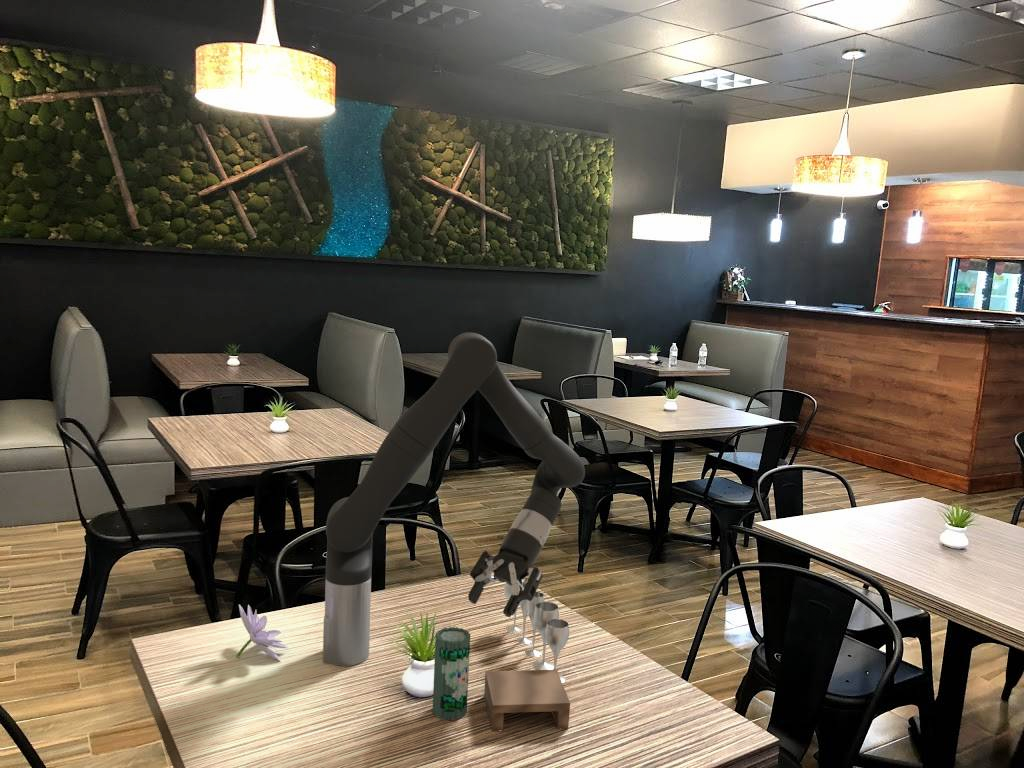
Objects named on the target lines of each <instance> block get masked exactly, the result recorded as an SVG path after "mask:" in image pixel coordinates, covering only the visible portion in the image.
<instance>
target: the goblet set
mask: <svg viewBox="0 0 1024 768" xmlns="http://www.w3.org/2000/svg"><path fill="white" fill-rule="evenodd" d="M527 581H528V579H527V577H525V578H523V579H522V582H523V588H525V586H526V583H527ZM503 595H504V597H505V598H506V599H507V601H508V600H509V599H510V597H511V595H514V593H513V586H512V585H509V584H507V583H506V582H504V586H503ZM519 606H520V610H521V612H522V619H523V622H522V623H523V624H522V626H521V627H523V630H522V628H521V627H519V626H520V625H518V626H515V625H516V621H517V620H516V617H517V611H518V609H517V610H516V612H515V613H514V614H513V624H509V625H510V626H508V625H506V626H507V627H506V626H505V627H506V630H507V632H508V633H507V632H506V633H507V634H510V633H511V632H512V633H518V632H520V631H523V633H522V636H518V637H519V638H517V637H516V638H517V641H516V642H519V643H521V644H526V645H527V644H528V645H531V644H532V647H531V648H527V649H525V650H524V651H525V653H526V655H525V656H527V657H530V658H537V657H541V656H542V659H538V660H537V659H536V660H534V661H533V662H532V663H531V665H532V667H533V669H534V670H557V664H558V657H559V655H560V653H561V651H563V649H564V648H565V647H566V645H567V643H568V641H569V637H570V625H569V622H568V621H566V620H564V619H561V618H560V609H559V605H558V604H556V603H554V602H551V601H546V600H545V595H544V593H543V592H542V591H541V592H540V591H536V593H535V595H534V597H533V599H532V600H531V601H528V600H522V601H521V602H520V604H519ZM527 616H528V617H529V620H530V622H531V626H532V638H530V637H528V638H527V636H525V633H526V622H527V621H526V620H527ZM536 632H538V633H539V635H540V637H541V639H542V646H543V647H542V650H543V651H542V650H540V649H538V648H536V647H535V640H536ZM516 642H515V643H516ZM530 643H531V644H530ZM521 644H520V645H521ZM526 645H525V646H526ZM547 645H548V647H549V648H550V650H551V653H552V654H553V662H552V661H550V660H547V659H546V647H547ZM540 655H541V656H540ZM558 674H559V676H560V679H561V681H562V684H564V683H565V681H566V677H565V676H564V675H562V674H560V673H558Z"/></svg>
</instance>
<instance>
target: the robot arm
mask: <svg viewBox="0 0 1024 768" xmlns="http://www.w3.org/2000/svg"><path fill="white" fill-rule="evenodd" d="M447 357H448V361H447V363H446V364H445V366H444V368H443V370H442V371H441V372H440V374H439V376H438V377H437V378H436V380H435V381H434V383H433V385H432V386H431V387H430V388H429V389H428V390H427V391H426V392H425V393H424V394H423V395H422V396H421V397H419V399H418V400H416V401H415V402H414V403H413V404H412V405H411V406H410V407H409V408H408V409H407V410H406V411H405V412H404V413H403V414H402V415H401V416H400V417H399V419H398V420H397V421H396V422H395V424H394V425H393V426H392V428H391V429H390V431H389V432H388V434H387V435H386V436H385V438H384V439H383V441H382V442H381V444H380V446H379V448H378V449H377V451H376V453H375V455H374V456H373V458H372V461H371V463H370V465H369V467H368V469H367V470H366V473H365V474H364V477H363V478H362V480H361V482H360V483H359V484H358V485H357V487H356V488H355V489H354V491H353V492H352V493H351V494H350V496H347V497H343V498H340V499H339V500H337V501H336V502H335V503H333V505H332V506H331V508H330V509H329V512H328V513H327V519H326V523H325V535H326V538H327V539H326V540H327V541H326V543H327V545H326V560H325V585H324V586H325V589H324V590H325V591H324V597H325V598H324V616H323V630H322V631H323V637H322V640H323V641H322V643H323V644H322V663H328V664H332V665H335V666H342V667H346V666H355V665H359V664H361V663H363V662H365V661H366V660H367V659H368V658H369V656H370V634H371V633H370V632H371V631H370V630H371V628H370V627H371V597H372V596H371V595H372V593H371V592H372V568H373V567H372V566H373V537H374V536H373V535H374V531H375V529H376V528H377V527H378V524H379V522H380V521H381V519H383V516H384V515H385V513H386V512H387V509H388V508H389V507H390V505H391V504H392V502H393V501H394V499H395V498H396V497H397V496H398V495H399V494H400V492H401V491H402V490H403V489H404V488H405V487H406V485H407V484H408V483H409V482H410V481H411V479H412V478H413V477H414V475H416V473H417V472H418V471H419V469H420V468H421V466H423V464H425V462H426V460H427V459H428V458H429V456H431V453H433V451H434V449H435V448H436V447H437V446H438V444H439V442H440V440H441V439H442V438H443V436H444V435H445V433H446V432H447V430H448V429H449V427H450V426H451V424H452V423H453V422H454V420H455V418H456V417H457V414H458V413H459V412H460V410H461V409H463V407H464V406H465V404H466V403H467V402H468V400H469V399H470V398H471V397H472V396H473V395H474V394H475V393H476V391H479V393H480V394H481V395H482V396H483V397H484V398H485V400H486V401H487V402H488V404H489V405H490V406H491V408H492V409H493V410H494V412H495V413H496V415H497V416H498V417H499V419H500V421H501V422H502V423H503V425H504V427H505V428H506V429H507V431H508V432H509V433H510V435H511V436H512V438H513V439H514V440H515V442H517V444H518V445H519V446H520V447H521V448H522V450H523V451H524V452H525V454H527V456H528V457H530V458H532V459H537V460H540V461H541V463H540V464H539V465H538V467H537V469H536V472H535V474H534V478H533V482H532V485H531V490H530V494H529V496H528V498H527V500H526V501H525V503H524V505H523V506H522V508H521V510H520V512H519V513H518V515H517V516H516V517H515V519H514V521H513V522H512V524H511V526H510V528H509V530H508V532H507V534H506V535H505V537H504V539H503V541H502V542H501V544H500V547H499V551H498V552H497V554H496V555H495V556H494V555H493V554H490V553H489V552H488V551H487V550H484V551H483V552H482V553H481V555H480V557H479V558H478V559H477V561H476V563H475V564H474V566H473V568H472V569H471V571H470V573H469V576H470V577H471V579H472V580H473V581H474V583H473V585H472V587H471V589H470V590H469V592H468V594H467V595H468V601H469V602H470V603H471V604H473V605H476V604H477V602H478V601H479V599H480V597H481V595H482V594H483V592H484V589H485V587H486V586H488V585H489V584H493V583H496V582H497V581H499V582H501V583H507V584H509V585H512V586H513V593H514V595H511V597H510V599H509V600H508V599H507V603H506V605H505V607H504V609H503V611H502V613H503V615H504V616H505V617H507V618H510V617H512V616H514V613H515V612H516V610H517V611H518V608H519V606H520V605H519V604H520V602H521V601H522V600H528V601H531V600H532V599H533V597H534V595H535V593H536V592H537V590H538V588H539V586H540V583H541V582H542V579H543V573H542V571H541V570H540V568H538V567H537V566H536V567H534V568H532V567H533V566H534V564H535V563H536V560H537V559H538V557H539V554H540V553H541V551H542V549H543V547H544V545H545V543H546V542H547V539H548V537H549V534H550V531H551V529H552V527H553V525H554V523H555V521H556V518H557V517H558V515H559V513H560V511H561V507H562V501H561V499H560V497H559V496H558V493H559V491H560V490H561V489H569V488H574V487H577V486H579V485H581V484H582V482H583V480H584V479H585V476H586V469H585V466H584V462H583V460H582V458H581V457H580V455H578V454H577V452H576V451H575V450H573V448H571V446H569V445H568V444H567V443H565V442H564V441H563V440H562V439H560V438H559V437H557V435H555V434H554V433H553V431H552V430H551V429H550V428H549V426H548V425H547V424H546V422H545V421H544V419H542V417H541V416H540V415H539V413H538V412H537V411H536V409H534V407H533V406H532V405H531V404H530V403H529V402H528V401H527V399H526V398H524V396H523V395H522V394H521V393H520V392H519V390H517V388H516V387H515V386H514V385H513V383H512V382H511V381H510V379H508V377H507V375H506V374H505V373H504V372H503V370H502V367H501V366H500V365H499V363H498V354H497V350H496V348H495V346H494V344H493V343H492V342H491V341H490V340H488V339H487V338H486V337H484V336H483V335H481V334H479V333H476V332H463V333H461V334H458V335H457V336H456V337H454V338H453V340H452V341H451V342H450V345H449V346H448V351H447ZM527 577H528V579H527V583H526V586H525V588H523V582H522V579H523V578H527ZM516 613H517V612H516Z"/></svg>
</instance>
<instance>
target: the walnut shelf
mask: <svg viewBox="0 0 1024 768" xmlns="http://www.w3.org/2000/svg"><path fill="white" fill-rule="evenodd" d="M559 674H560V673H559V672H558V669H556V670H554V669H552V670H537V669H531V670H530V669H528V670H527V669H525V670H524V669H523V670H522V669H521V670H487V671H485V674H484V692H483V693H484V694H483V697H484V701H485V705H486V710H487V716H488V721H489V725H491V726H490V730H491V732H500V731H499V730H503V731H504V715H505V714H511V713H535V712H536V713H539V712H541V713H542V712H551V711H552V712H551V714H552V716H553V721H554V723H555V725H557V726H556V729H557V728H558V729H557V730H566V729H565V728H568V729H569V726H570V724H569V723H570V710H571V702H570V699H569V696H568V694H567V692H566V689H565V686H564V683H562V681H561V679H560V676H559ZM560 728H562V729H560Z"/></svg>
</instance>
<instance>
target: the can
mask: <svg viewBox="0 0 1024 768" xmlns="http://www.w3.org/2000/svg"><path fill="white" fill-rule="evenodd" d="M434 642H435V643H434V644H435V645H434V665H433V666H434V668H433V671H434V672H433V689H432V690H433V692H432V693H433V695H432V713H433V716H435V717H436V718H439V719H440V720H445V721H454V720H456V721H457V720H460V719H461V718H463V717H465V716H466V714H467V711H468V694H469V693H468V692H469V690H468V689H469V671H470V652H471V651H470V650H471V648H470V647H471V633H470V631H468V630H466V629H465V628H462V627H460V628H459V627H456V626H455V627H454V626H453V627H451V626H450V627H444V628H441V629H439V630H437V632H435V641H434Z"/></svg>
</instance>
